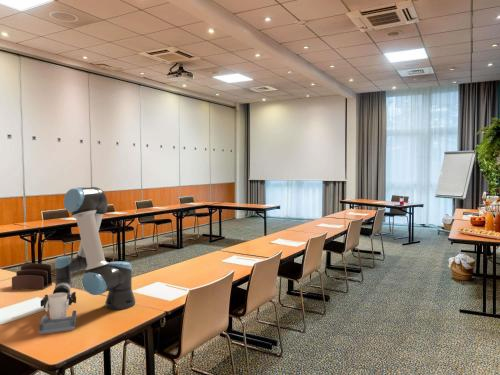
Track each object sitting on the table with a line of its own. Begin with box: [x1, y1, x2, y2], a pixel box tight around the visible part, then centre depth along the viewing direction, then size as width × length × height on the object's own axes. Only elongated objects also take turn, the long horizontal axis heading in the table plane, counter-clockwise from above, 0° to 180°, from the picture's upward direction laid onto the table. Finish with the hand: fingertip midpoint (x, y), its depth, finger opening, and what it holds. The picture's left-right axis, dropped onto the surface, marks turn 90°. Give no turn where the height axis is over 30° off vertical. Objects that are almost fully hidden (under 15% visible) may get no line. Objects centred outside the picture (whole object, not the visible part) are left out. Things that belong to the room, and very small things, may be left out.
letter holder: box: [11, 262, 53, 290], centre depth 237 cm, size 10×20×14 cm, turn 88°
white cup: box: [48, 293, 68, 319], centre depth 175 cm, size 8×8×10 cm
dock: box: [38, 310, 77, 335], centre depth 175 cm, size 14×14×4 cm
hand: (56, 307), depth 171 cm, fingers closed on white cup, 8 cm apart
